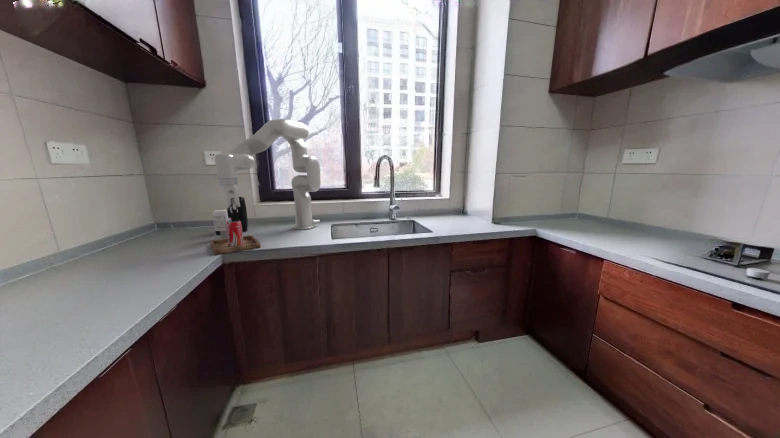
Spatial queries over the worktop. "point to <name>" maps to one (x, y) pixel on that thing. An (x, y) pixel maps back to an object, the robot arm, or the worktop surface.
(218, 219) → the supplement can
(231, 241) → the soda can
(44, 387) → the worktop surface
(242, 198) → the portable speaker
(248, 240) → the tray
